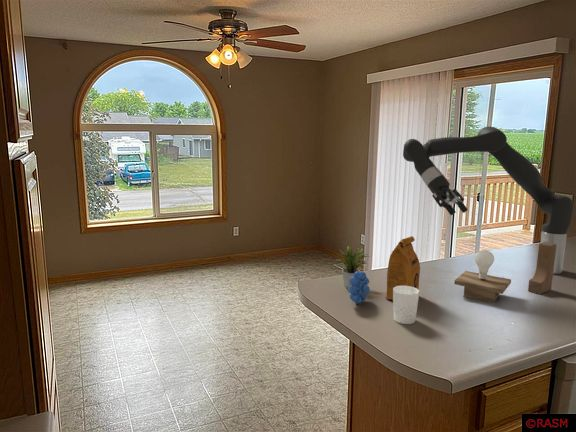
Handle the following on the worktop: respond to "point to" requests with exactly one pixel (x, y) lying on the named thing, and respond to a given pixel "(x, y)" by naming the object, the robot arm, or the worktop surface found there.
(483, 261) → the lightbulb
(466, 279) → the stand
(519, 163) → the robot arm
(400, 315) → the white cup
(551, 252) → the wooden block
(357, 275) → the grapes
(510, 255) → the worktop surface
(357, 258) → the house plant
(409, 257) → the coffee package
